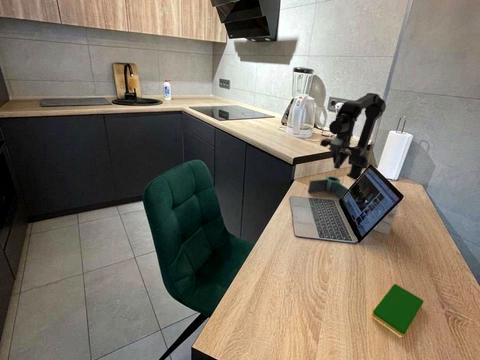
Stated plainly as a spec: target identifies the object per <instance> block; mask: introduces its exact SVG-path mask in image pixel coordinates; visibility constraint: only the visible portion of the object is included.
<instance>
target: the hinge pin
mask: <svg viewBox="0 0 480 360" xmlns="http://www.w3.org/2000/svg"><path fill="white" fill-rule="evenodd" d="M343 152H344V151H343V150H341V151H337V155H336V159H335V163H333V164H334V165H333V168H334V169H338V170H340V169H341V166H340V162H341V159H342V156H343Z"/></svg>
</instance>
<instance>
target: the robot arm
mask: <svg viewBox="0 0 480 360" xmlns="http://www.w3.org/2000/svg"><path fill="white" fill-rule="evenodd" d="M386 108H387V105H386V101H385V100H384V99H383V98H382V97H380V95H379V94H378V93H373V92H367V93H366V95H363V96H362V97H359V98H358V99H356V100H346V101H345V102H343V104H341V106H340V109H339V110H338V112H337V114H336V116H335V120H332V121H331V122H330V124H329V127H328V128H329V131H330V133H331V134H333V135H336V136H335V138H333V139H332V138H327V137H326V138H323V139H321V140H320V144H319V146H322V147H323V148H324V147H325V148H327V147H328V146H329V148H327V149H328V150H329V151H330V152H331V157H332V163H333V164H334V163H335V159H336V155H337V151H343V150H344V151H343V156H342V159H341V162H340V167H341V166H342V165H343V164H344V162H346V160H347V159H348V160H347V161H348V163H347V164H348V165H351V167H350V170H349V172H348V173H347V174H346V176H347V177H350V178H354V179H356V180H358V179H357V178H358V177H359V176H360V175H362V172H363V170H364V169H367V168H368V166H369V158H368V155H369V152H368V149H367V148H368V146H369V142H370V139H371V136H372V134H373V131H374V128H375V126H376V123H377V120H379V118H381V117H382V116H383V114H384V112H385V111H386ZM363 110H364V115H365V120H364V124H363V126H362V130H361V133H360V136H359V138H358V142H357V145H356V146H350V145H351V140H352V137H353V135H354V134H353V133H354V129H355V124H356V122H357V121H358V119H359V116H360V115H361V114H362V111H363Z"/></svg>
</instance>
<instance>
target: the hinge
mask: <svg viewBox="0 0 480 360" xmlns="http://www.w3.org/2000/svg"><path fill="white" fill-rule="evenodd" d="M348 190H350V189H349V188H347V186H344V185H343V184H342V183H341V179H340V178H339V177H338V176H337V177H336V176H333V175H329V176H328V175H327V176H326V177H325V178H324V179H323V178H322V179H311V180H309V183H308V189H307V193H309V194H311V193H317V192H318V193H321V192H326V193H328V194H334V195H335V196H336V197H337V198H339V199H340V198H341V197H342V196H343V195H344V194H345V193H346V192H347V191H348Z"/></svg>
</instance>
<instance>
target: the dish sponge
mask: <svg viewBox="0 0 480 360" xmlns="http://www.w3.org/2000/svg"><path fill="white" fill-rule="evenodd" d="M423 304H424V299H422V298H420V297H418V296H417V295H415V294H413V293H412V292H410V291H408V290H406V289H405V288H403V287H401V286H400V285H398V284H395V283H394V284H392V286H391V287H390V288H389V290H388V291H387V292H386V293H385V295H384V297H383V298H382V299H381V300H380V302H379V303H378V304H377V305H376V307H375V308H374V309H373V311H372V313H371V315H372V316H373V317H374V318H376V319H377V320H379V321H380V322H382V323H383V324H385V325H386V326H387V327H389V328H390V329H392V330H393V331H395V332H396V333H398V334H399V335H401V336H404V337H405V335H406V333H407V331H408V330H409V328H410V326H411V325H410V324H413V322H414V319H415V318H416V316H417V315H418V313H417V312H419V311H420V309H421V307H422V306H423Z"/></svg>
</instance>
